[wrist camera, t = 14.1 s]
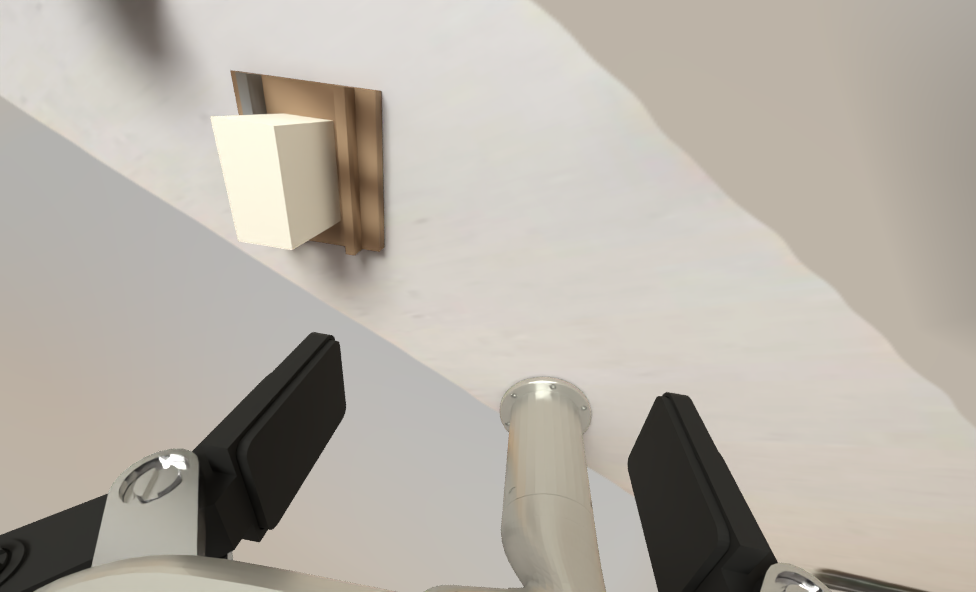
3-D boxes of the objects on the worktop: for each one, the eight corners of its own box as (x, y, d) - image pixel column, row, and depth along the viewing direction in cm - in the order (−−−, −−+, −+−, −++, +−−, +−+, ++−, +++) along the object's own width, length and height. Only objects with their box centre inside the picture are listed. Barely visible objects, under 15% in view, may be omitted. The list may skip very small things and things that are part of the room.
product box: (333, 120, 35) (273, 125, 27) (340, 220, 40) (292, 250, 32) (281, 113, 35) (207, 116, 27) (295, 213, 40) (235, 240, 32)
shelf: (384, 247, 42) (372, 258, 39) (270, 228, 43) (249, 238, 40) (381, 91, 34) (366, 89, 31) (241, 71, 35) (213, 68, 32)
